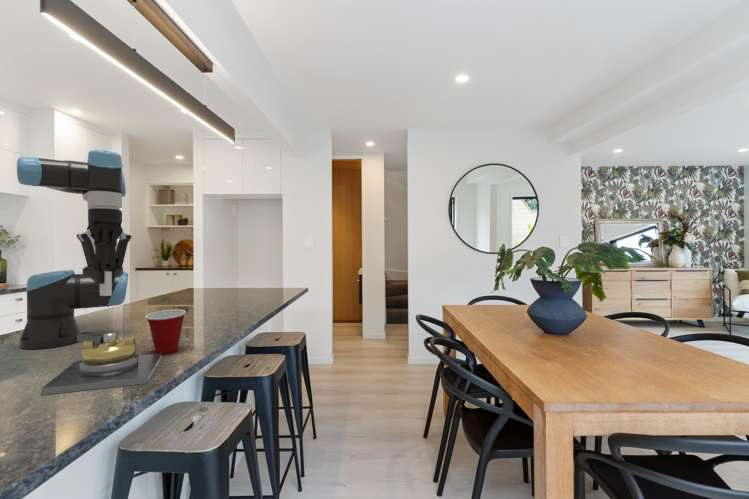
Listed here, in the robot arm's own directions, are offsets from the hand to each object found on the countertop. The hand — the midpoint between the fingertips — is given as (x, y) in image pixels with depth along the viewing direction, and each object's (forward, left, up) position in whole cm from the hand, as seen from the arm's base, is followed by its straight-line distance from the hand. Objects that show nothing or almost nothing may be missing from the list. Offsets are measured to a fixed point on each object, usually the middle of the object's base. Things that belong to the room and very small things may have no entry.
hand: (105, 295), depth 101 cm
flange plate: (+10, +4, -19) cm, 22 cm away
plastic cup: (-7, +14, -19) cm, 24 cm away
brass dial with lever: (+8, +1, -14) cm, 16 cm away
